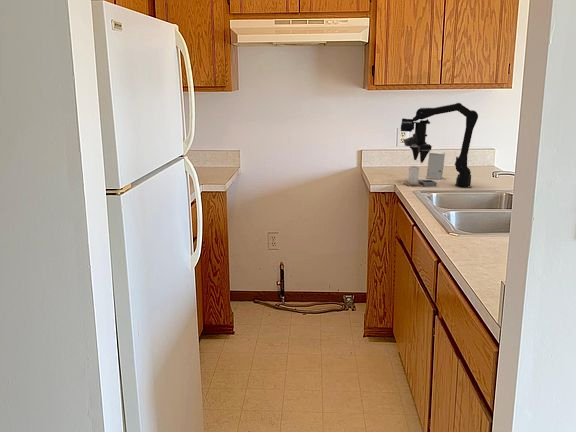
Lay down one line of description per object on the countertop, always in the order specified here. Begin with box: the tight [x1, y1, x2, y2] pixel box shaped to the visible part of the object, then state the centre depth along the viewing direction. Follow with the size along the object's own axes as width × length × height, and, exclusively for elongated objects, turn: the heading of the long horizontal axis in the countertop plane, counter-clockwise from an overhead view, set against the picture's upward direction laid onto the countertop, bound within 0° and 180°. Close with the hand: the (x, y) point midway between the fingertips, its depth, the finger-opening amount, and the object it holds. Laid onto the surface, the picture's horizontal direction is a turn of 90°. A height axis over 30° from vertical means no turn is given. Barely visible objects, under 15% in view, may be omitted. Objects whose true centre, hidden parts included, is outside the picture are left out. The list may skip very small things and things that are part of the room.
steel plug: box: [407, 165, 420, 184], centre depth 298 cm, size 4×4×9 cm
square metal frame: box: [418, 179, 438, 187], centre depth 300 cm, size 7×8×2 cm
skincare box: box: [425, 151, 446, 180], centre depth 318 cm, size 8×6×15 cm
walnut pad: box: [403, 181, 423, 187], centre depth 299 cm, size 7×7×1 cm
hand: (418, 161), depth 301 cm, fingers open, 9 cm apart
